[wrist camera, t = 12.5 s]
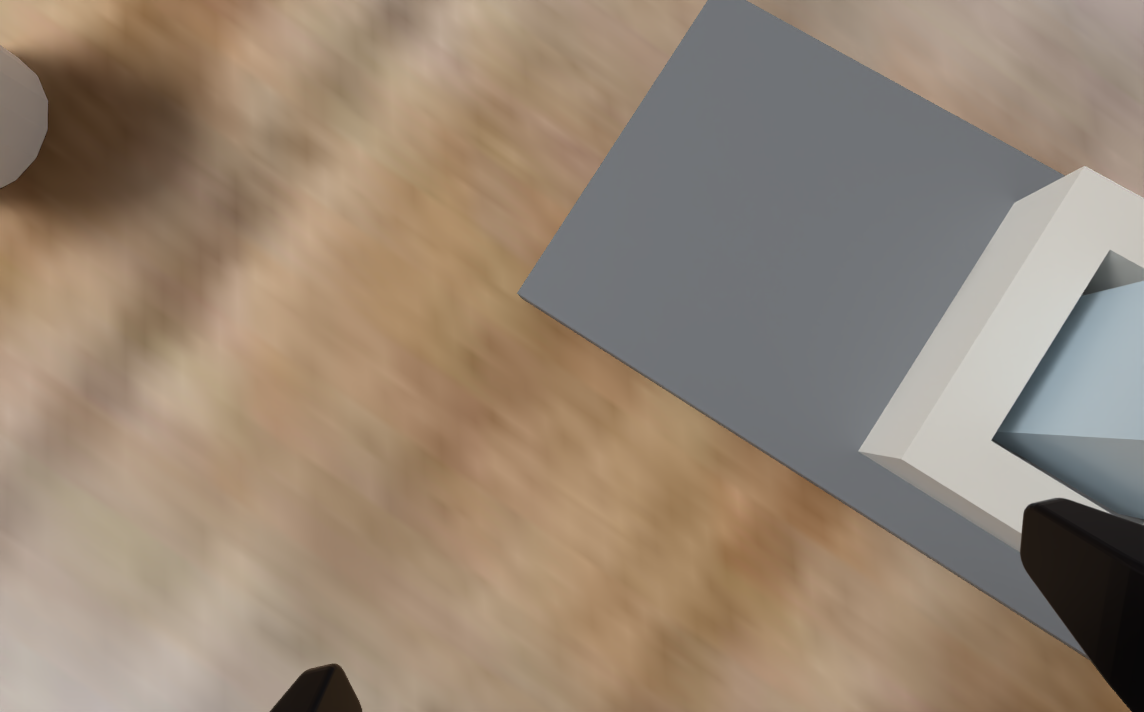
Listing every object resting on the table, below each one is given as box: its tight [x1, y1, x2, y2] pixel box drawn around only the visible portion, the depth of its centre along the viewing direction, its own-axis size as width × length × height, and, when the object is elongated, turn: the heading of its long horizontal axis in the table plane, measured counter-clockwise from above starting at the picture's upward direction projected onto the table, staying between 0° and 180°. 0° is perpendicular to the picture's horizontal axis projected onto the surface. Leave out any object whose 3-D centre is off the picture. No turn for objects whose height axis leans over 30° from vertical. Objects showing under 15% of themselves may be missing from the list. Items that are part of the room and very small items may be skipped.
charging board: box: [517, 0, 1091, 661], centre depth 20 cm, size 22×12×1 cm, turn 57°
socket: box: [858, 166, 1144, 552], centre depth 18 cm, size 9×9×3 cm
